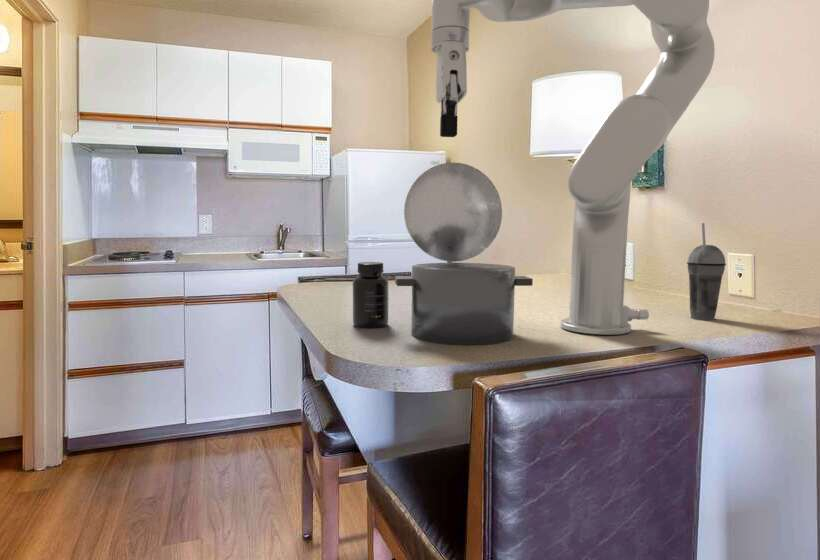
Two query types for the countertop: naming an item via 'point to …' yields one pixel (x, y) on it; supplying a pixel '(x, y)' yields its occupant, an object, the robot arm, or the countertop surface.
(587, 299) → the robot arm
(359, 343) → the countertop surface
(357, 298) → the supplement bottle
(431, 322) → the cooker pot
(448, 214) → the lid
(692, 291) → the beverage cup
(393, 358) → the countertop surface
